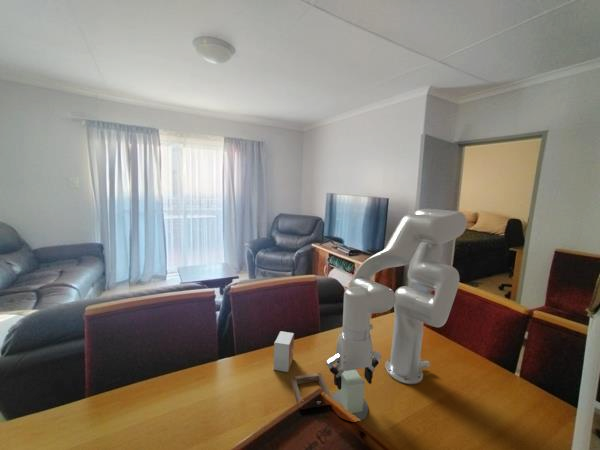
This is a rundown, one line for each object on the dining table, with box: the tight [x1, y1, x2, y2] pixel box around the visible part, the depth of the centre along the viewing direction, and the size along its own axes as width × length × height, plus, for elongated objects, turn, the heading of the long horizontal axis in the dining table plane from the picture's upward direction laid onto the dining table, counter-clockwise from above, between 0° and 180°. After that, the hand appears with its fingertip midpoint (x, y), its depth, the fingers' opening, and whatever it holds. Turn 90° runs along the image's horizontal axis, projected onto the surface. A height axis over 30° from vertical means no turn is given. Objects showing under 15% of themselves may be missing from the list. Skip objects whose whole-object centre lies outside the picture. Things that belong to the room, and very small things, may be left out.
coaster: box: [331, 390, 369, 421], centre depth 77 cm, size 11×11×1 cm
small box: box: [273, 330, 295, 373], centre depth 93 cm, size 8×6×10 cm
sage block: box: [338, 369, 366, 413], centre depth 76 cm, size 5×6×9 cm
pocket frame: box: [290, 372, 333, 405], centre depth 81 cm, size 10×11×2 cm
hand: (353, 383), depth 76 cm, fingers open, 9 cm apart
